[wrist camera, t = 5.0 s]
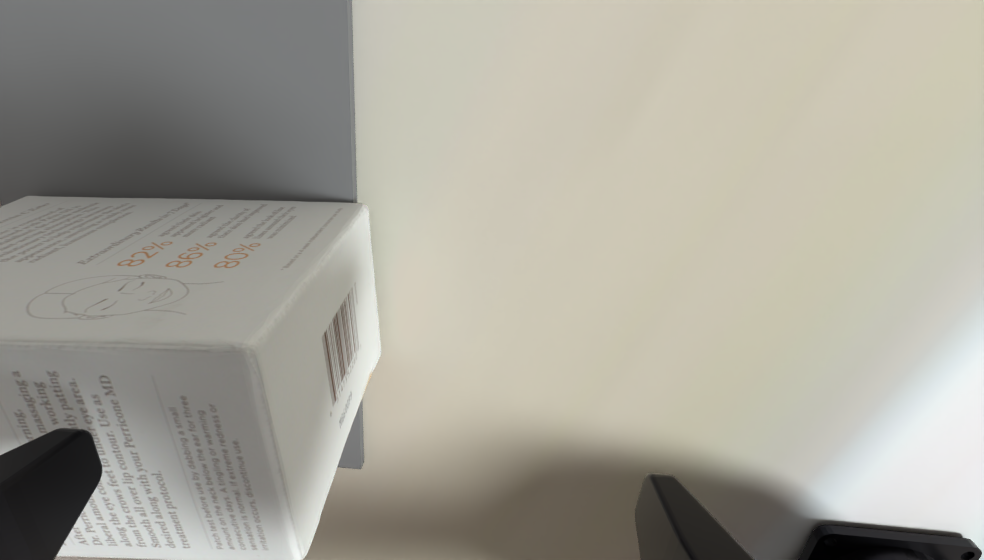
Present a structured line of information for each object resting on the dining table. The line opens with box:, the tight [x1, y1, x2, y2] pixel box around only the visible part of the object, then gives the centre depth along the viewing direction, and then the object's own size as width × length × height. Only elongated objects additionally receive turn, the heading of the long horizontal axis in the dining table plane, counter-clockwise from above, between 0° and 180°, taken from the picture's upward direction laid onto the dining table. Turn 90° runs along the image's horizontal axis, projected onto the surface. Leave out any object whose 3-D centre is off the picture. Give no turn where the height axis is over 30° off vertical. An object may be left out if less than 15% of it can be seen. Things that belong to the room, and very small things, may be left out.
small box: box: [0, 196, 381, 560], centre depth 13 cm, size 8×6×10 cm
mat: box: [0, 0, 364, 469], centre depth 16 cm, size 11×18×1 cm, turn 175°
